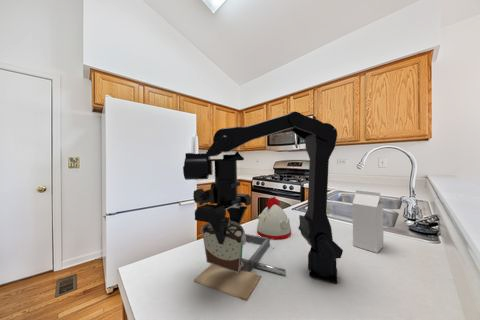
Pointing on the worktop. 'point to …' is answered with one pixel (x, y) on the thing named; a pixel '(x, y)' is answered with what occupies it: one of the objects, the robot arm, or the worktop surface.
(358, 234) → the milk carton
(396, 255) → the worktop surface
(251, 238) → the case
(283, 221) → the white knit beanie
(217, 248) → the food container
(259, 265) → the rod
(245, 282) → the pad
